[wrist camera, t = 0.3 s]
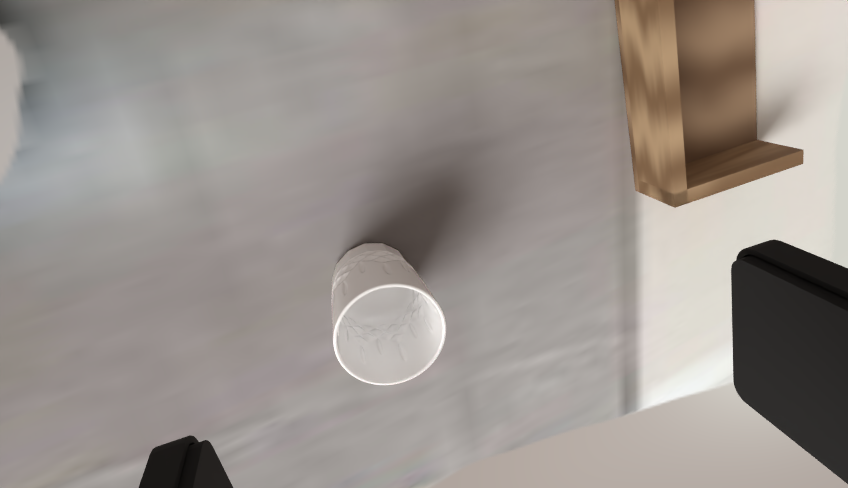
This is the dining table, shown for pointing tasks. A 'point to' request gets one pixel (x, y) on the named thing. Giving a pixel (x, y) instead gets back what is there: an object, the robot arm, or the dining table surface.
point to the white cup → (383, 316)
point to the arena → (693, 98)
